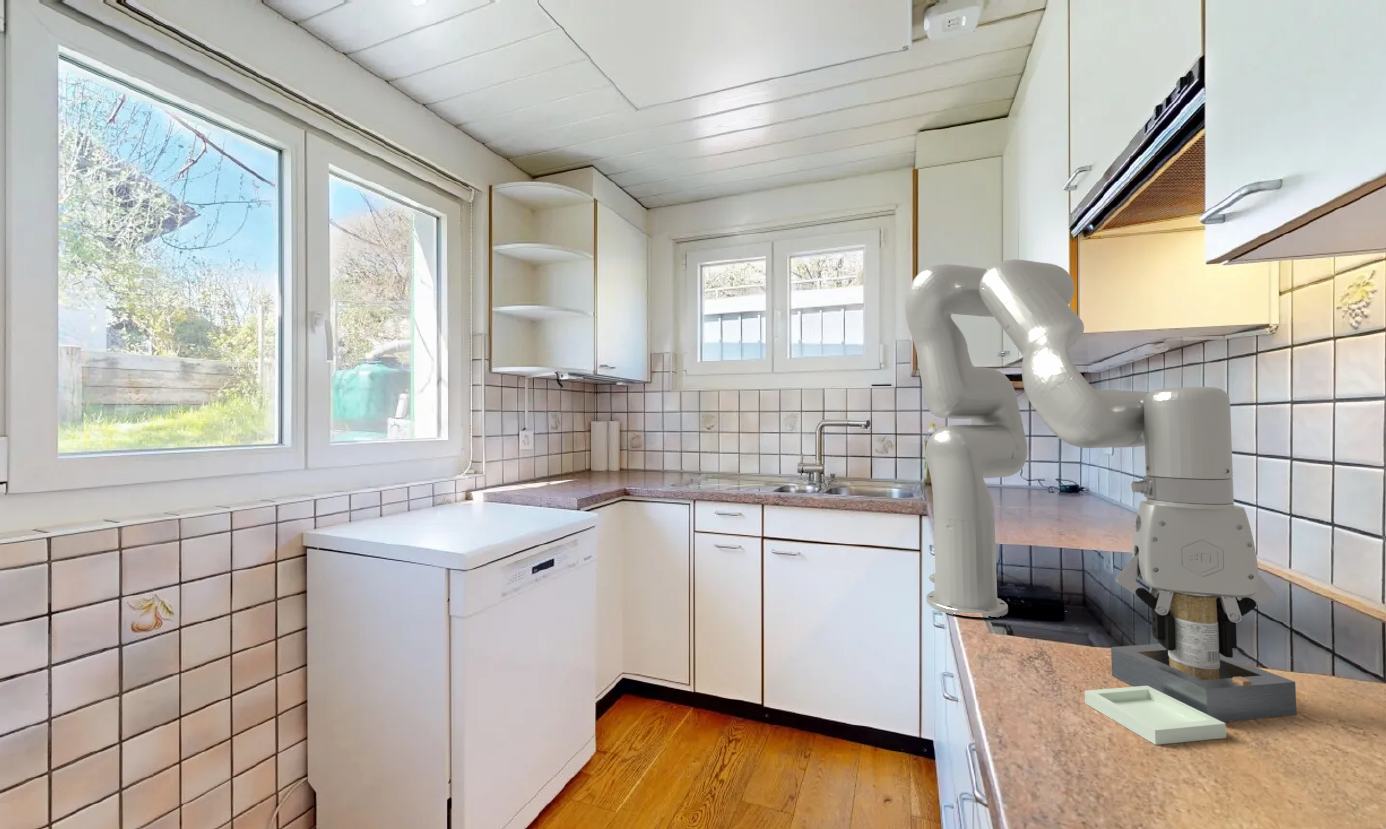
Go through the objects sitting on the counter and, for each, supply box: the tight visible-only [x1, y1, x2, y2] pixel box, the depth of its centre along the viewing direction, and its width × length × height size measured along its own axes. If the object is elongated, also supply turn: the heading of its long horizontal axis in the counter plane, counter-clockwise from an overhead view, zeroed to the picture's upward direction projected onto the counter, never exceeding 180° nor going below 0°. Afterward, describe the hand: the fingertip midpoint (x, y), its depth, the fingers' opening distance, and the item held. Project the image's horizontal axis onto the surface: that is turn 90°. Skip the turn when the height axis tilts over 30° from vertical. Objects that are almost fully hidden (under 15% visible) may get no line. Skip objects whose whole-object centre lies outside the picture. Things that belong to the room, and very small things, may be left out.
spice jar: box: [1168, 592, 1220, 680], centre depth 62 cm, size 5×5×14 cm
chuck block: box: [1110, 643, 1298, 723], centre depth 62 cm, size 11×11×4 cm
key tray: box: [1084, 686, 1227, 745], centre depth 56 cm, size 8×8×1 cm
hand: (1193, 647), depth 62 cm, fingers closed on spice jar, 4 cm apart
